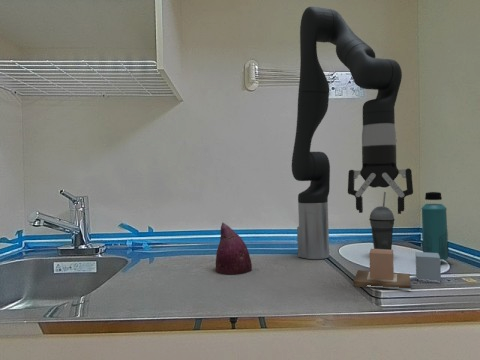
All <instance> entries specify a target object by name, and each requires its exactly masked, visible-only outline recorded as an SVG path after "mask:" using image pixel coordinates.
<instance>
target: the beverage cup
mask: <svg viewBox="0 0 480 360" xmlns="http://www.w3.org/2000/svg"><path fill="white" fill-rule="evenodd" d="M386 193H387V192H385V191H383V199H382V201H383V202H382V206H376V207H374V208H373V209H372V210H371V212H370V215H369V219H368V220H369V224H370V226H371V234H372V235H371V236H372V244H373V249H387V250H393V249H392V246H393V233H394V231H393V230H394V225H395V221H396V220H395V216H394V214H393V212H392V210H391V209H390V208H389V207H387V206H385V204H386V203H385V202H386Z"/></svg>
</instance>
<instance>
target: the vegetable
mask: <svg viewBox="0 0 480 360" xmlns="http://www.w3.org/2000/svg"><path fill="white" fill-rule="evenodd" d="M252 265H253V264H252V259H251V256H250V253H249V250H248V247H247V245H246V243H245V241H244V240H243V239H242V237H241V235H239V234H238V233H237V232H236V231H235V230H233V229H232V228H231V227H230V226H229V225H228V224H226V223H224V222H223V221H222V223H221V226H220V237H219V244H218V246H217V250H216V256H215V272H216V273H218V274H222V275H241V274H247V273H249V272H251V271H252V270H253V266H252Z"/></svg>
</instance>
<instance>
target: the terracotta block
mask: <svg viewBox="0 0 480 360" xmlns="http://www.w3.org/2000/svg"><path fill="white" fill-rule="evenodd" d="M368 255H369V271H370V279H382V280H393V279H394V273H395V272H394V250H393V249H392V250H387V249H374V248H370V251H369V253H368Z"/></svg>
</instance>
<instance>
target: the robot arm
mask: <svg viewBox="0 0 480 360" xmlns="http://www.w3.org/2000/svg"><path fill="white" fill-rule="evenodd" d="M299 26H300V27H299V45H300V47H299V51H300V53H299V55H300V58H299V59H300V67H299V68H300V69H299V83H298V93H297V96H298V97H297V111H296V115H297V116H296V127H295V129H296V130H295V135H294V136H295V137H294V143H293V144H294V145H293V151H292V157H291V173H292V176H293V178H294V179H295V180H296V181H298V182H310V184H309V186H308V187H307V188H306V189H305V190H302V191H301V192H299V193H298V195H297V206H298V208H297V210H298V211H297V212H298V213H297V214H298V226H297V227H296V232H297V233H296V234H297V235H296V236H297V238H296V239H297V258H303V259H308V260H323V259H328V258H330V237H329V236H330V235H329V232H330V231H329V203H328V201H329V194H330V184H331V183H330V182H331V181H330V180H331V179H330V178H331V163H330V160H329V157H328V155H327V153H326V152H323V151H311V146H312V141H313V137H314V135H315V133H316V131H317V129H318V127H319V126H320V124H322V121H323V119H324V118H325V116H326V114H327V112H328V110H329V109H328V108H329V100H330V84H329V81H328V79H327V76H326V74H325V72H324V70H323V68H322V65H321V64H320V61H319V57H318V50H317V42H318V43H325V44H326V43H329V44H333V45H334V46H335V53H336V56H337V58H338V60H339V61H340V62H341V63H342V64H343V65H344V66H345V67H346V68H347V69H348V70H349V74H350V75H351V77H352V80H353V82H354V83H355V85H356V86H358V87H359V88H361V89H364V90H377V95H376V97H375V98H372V99H368V100H367V101H365V102H364V103H363V105H362V133H361V153H362V154H361V158H362V159H361V160H362V161H361V164H362V165H361V166H362V167H361V169H360V170H358V169H357V170H354V169H349V170H348V175H347V176H348V178H347V180H348V181H347V194H348V195H351V196H353V197H354V198H355V209H356V211H358V213H359V214H361V213H362V214H363V212H364V211H363V210H364V209H363V208H364V206H363V203H364V202H363V198H364V197H363V194H364V193H365V191H366V190H367V189H368V188H369V187H370V188H376V189H377V188H389V187H390V188H391V189H392V190H393V191H394V192H395V193H396V195H397V196H398V197H397V214H399V215H401V214H402V212H404V211H405V199H406V197H407V196H412V195H413V194H414V188H413V187H414V186H413V175H412V169H411V168H410V167H409V168H404V169H402V168H401V169H398V167H397V132H396V131H397V130H396V124H395V123H396V122H395V119H396V118H395V105H396V102H397V99H398V94H399V90H400V87H401V84H402V78H403V77H402V76H403V72H402V68H401V65H400V63H398V61H396V60H394V59H389V58H380V57H379V58H378V57H376V52H375V50H374V49H373V47H371V46H370V45H368V44H367V43H366V42H365V41H363V40H362V39H361V38H360V37H359V36H357V35H356V34H355V32H353V30H352V29H351V28H350V26H349V25H348V24H347V22H346V21H345V19H344V18H343V17H342V15H341V14H340V13H339V12H338V11H336V10H335V9H331V8H326V7H320V6H319V7H318V6H307V8H305V9H304V10H303V12H302V15H301V19H300V25H299ZM399 175H401V177H402V178H404V179H405V182H406V190H402V189H401V187H400V186H399V185H398V184H397V183H396V181H395V180H396V178H397V177H398V176H399ZM359 176H361V178H362V179H363V181H364V182H363V183H362V185H361V186H360V187H359V189H358V190H356V189H355V183H356V182H355V180H356V179H358V177H359Z"/></svg>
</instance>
